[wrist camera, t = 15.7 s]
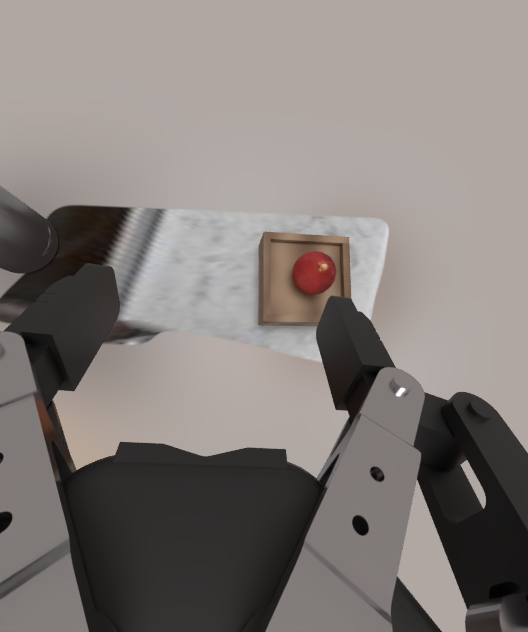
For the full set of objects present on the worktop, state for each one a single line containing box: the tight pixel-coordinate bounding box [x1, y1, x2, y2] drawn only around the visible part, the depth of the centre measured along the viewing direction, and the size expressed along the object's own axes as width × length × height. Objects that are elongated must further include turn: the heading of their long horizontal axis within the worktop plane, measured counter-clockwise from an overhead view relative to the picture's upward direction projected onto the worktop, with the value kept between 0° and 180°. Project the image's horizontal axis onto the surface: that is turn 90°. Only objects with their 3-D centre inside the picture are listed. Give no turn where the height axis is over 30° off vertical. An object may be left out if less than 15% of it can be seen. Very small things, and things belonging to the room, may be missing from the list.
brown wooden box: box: [259, 232, 351, 326], centre depth 43 cm, size 13×13×6 cm
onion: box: [292, 251, 337, 295], centre depth 37 cm, size 6×6×8 cm
